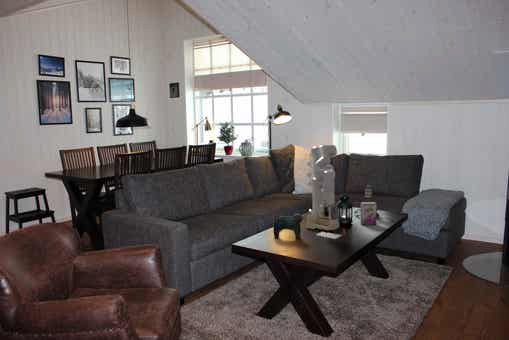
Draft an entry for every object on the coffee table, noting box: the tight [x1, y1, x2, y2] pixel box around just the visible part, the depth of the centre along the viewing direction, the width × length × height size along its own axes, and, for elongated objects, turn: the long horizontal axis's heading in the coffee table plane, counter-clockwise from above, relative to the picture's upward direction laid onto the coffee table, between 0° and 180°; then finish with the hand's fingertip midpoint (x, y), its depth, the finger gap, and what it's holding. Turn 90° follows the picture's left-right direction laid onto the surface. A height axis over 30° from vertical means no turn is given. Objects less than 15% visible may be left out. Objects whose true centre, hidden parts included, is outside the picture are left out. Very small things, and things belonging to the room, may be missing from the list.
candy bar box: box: [359, 201, 378, 226], centre depth 316 cm, size 11×5×16 cm, turn 84°
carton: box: [305, 212, 340, 231], centre depth 310 cm, size 19×15×9 cm
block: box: [319, 205, 339, 220], centre depth 289 cm, size 12×5×8 cm, turn 50°
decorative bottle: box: [354, 184, 383, 217], centre depth 337 cm, size 22×21×25 cm
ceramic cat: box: [272, 208, 304, 240], centre depth 287 cm, size 20×6×20 cm, turn 81°
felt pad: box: [315, 231, 342, 240], centre depth 292 cm, size 15×9×1 cm, turn 50°
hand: (328, 215), depth 290 cm, fingers closed on block, 5 cm apart
